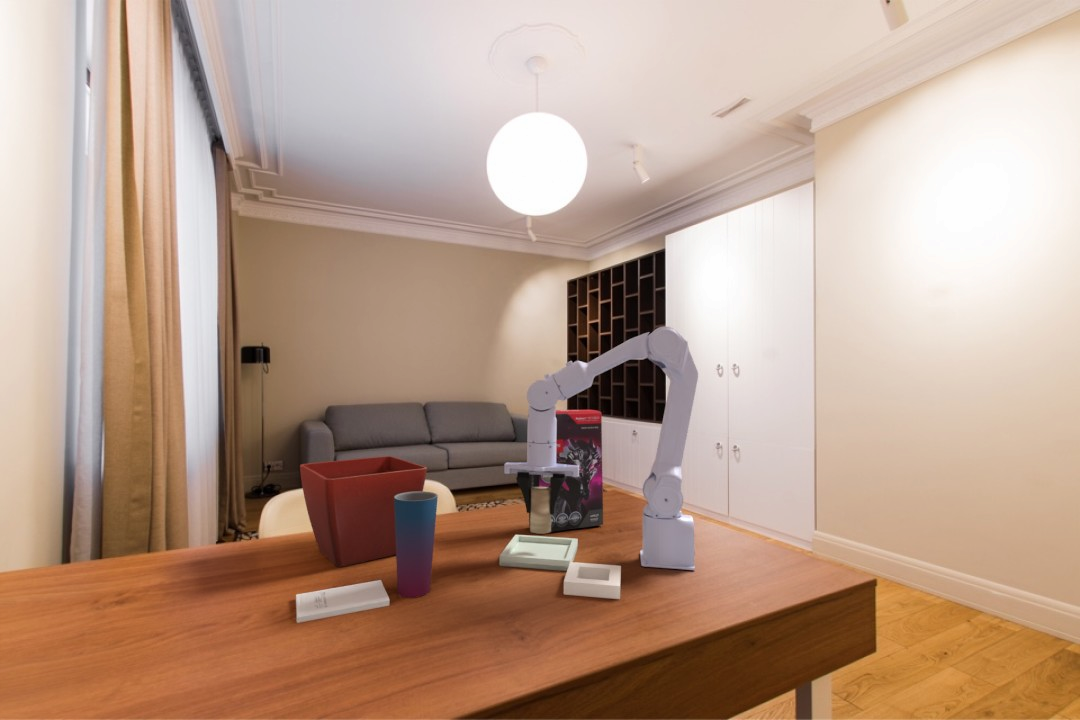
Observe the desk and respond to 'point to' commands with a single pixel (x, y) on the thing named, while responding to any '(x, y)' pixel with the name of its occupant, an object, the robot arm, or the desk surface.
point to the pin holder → (593, 580)
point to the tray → (539, 552)
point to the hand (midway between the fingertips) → (541, 512)
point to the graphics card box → (581, 448)
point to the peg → (540, 510)
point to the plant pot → (357, 505)
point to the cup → (414, 541)
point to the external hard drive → (340, 600)
